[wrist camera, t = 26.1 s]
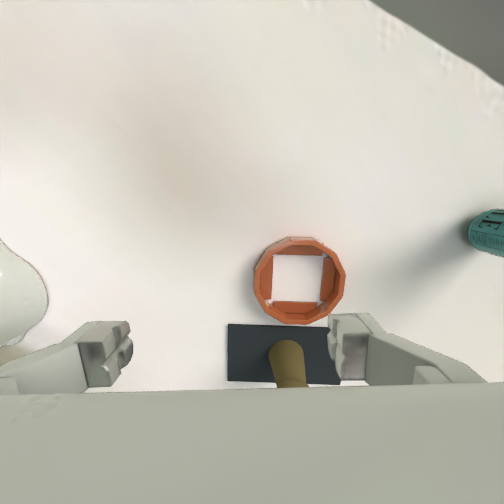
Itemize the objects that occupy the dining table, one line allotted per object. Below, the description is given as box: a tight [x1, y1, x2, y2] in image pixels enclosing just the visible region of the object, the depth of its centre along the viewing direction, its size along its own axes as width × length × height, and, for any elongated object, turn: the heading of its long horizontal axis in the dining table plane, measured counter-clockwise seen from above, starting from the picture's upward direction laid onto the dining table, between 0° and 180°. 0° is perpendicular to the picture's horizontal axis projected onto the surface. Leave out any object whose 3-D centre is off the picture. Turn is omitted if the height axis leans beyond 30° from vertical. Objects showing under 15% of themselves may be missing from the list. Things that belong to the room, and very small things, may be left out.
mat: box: [228, 324, 341, 385], centre depth 43 cm, size 20×11×1 cm, turn 88°
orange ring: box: [254, 237, 346, 325], centre depth 39 cm, size 14×14×2 cm
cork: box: [268, 340, 309, 388], centre depth 38 cm, size 6×6×11 cm
